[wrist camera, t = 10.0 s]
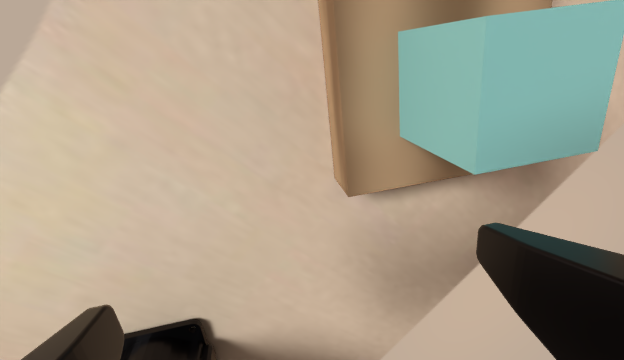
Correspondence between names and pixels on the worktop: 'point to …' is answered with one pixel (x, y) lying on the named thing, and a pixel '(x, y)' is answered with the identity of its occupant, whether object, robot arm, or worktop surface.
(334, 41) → the oak base
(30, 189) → the worktop surface
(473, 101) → the teal block
